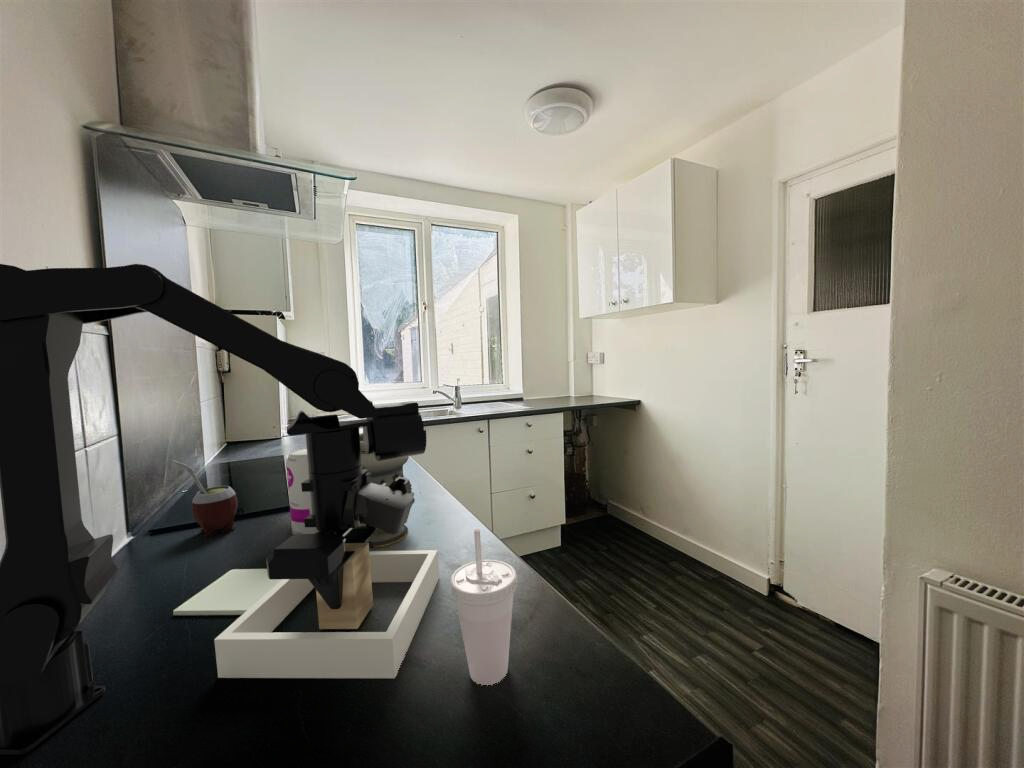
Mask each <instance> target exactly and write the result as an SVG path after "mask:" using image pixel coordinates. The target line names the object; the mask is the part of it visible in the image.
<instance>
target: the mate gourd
mask: <svg viewBox="0 0 1024 768" xmlns="http://www.w3.org/2000/svg"><path fill="white" fill-rule="evenodd" d="M170 462H172V463H174V464H176V465H178V466H180V467H182V468H184V469H185V470H186V471H187V473H188V474H189V475H190V476H191V477H192V479H193V481H194V482H195V484H196V486H197V487H198V489H199V491H197V492H196V494H195V495H194V497H193V498H192V501H191V502H192V503H191V511H192V516H193V518H194V520H195V522H196V523H197V524H198V525H199V526H200V527H201V529H200V533H201V532H205V534H204V535H203V539H204V538H206V539H209V538H211V537H212V535H213V534H214V535H215V533H216V534H218V533H223V532H222V531H232V532H234V531H235V529H236V528H235V527H234V521H235V515H236V513H237V511H238V507H239V501H238V500H239V499H238V496H237V492H235V490H234V489H233V488H232V487H231V486H229V485H219V486H218V485H217V486H212V487H207V488H204V487H203V485H202V484H201V482H200V480H199V479H198V476H197V475H196V474H195V470H194V469H193V468H192V467H191V466H189V465H187V464H185V463H183V462H179V461H177V460H173V459H171V460H170ZM233 530H234V531H233ZM217 532H218V533H217ZM214 535H213V536H214ZM210 536H211V537H210Z"/></svg>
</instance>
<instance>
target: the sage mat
mask: <svg viewBox="0 0 1024 768" xmlns="http://www.w3.org/2000/svg"><path fill="white" fill-rule="evenodd" d="M281 580H282V579H269V578H268V574H267V568H242V569H241V568H235V569H233V568H232V569H230V570H229V571H227V572H226V573H225V574H223V575H222V576H220V577H219V578H217V579H216V580H215V581H213V582H211V583H210V584H209V585H208V586H206V587H204V588H203V589H201V590H200V591H199V592H198V593H196V594H195V595H193V596H192V597H190V598H189V599H187V600H186V601H185V602H183V603H182V604H181V605H179V606H177V607H176V608H175V609H173V616H238V615H239V616H241V615H243V614H244V613H245V612H246V611H247V610H248V609H249V608H250V607H252V606H253V605H254V604H255V603H256V602H257V601H258V600H259V599H261V598H262V597H263V596H264V595H265V594H266V593H267V592H269V591H270V590H271V589H272V588H273V587H274V586H275V585H276V584H278V583H279V582H280V581H281Z"/></svg>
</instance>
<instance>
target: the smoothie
mask: <svg viewBox="0 0 1024 768" xmlns="http://www.w3.org/2000/svg"><path fill="white" fill-rule="evenodd" d="M473 532H474V534H473V535H474V551H475V554H474V555H475V561H471V562H468V563H466V564H464V565H462V566H460V567H459V568H457V569H456V570H455V571H454V572H453V573H452V575H451V576H450V592H451V595H452V596H453V597H454V598H455V604H456V608H457V613H458V618H459V624H460V628H461V629H460V630H461V635H462V639H463V645H464V649H465V655H466V660H467V666H468V670H469V671H468V672H469V677H470V678H471V680H472V681H473V682H474V683H475V682H476V683H475V684H477V685H479V684H481V685H480V686H483V685H487V686H486V687H488V685H491V686H494V685H493V684H495V683H497V684H499V683H501V682H502V681H503V680H504V679H505V678H506V677H505V676H507V675H506V674H508V671H509V658H510V656H509V655H510V646H511V645H510V642H511V630H512V618H513V617H512V615H513V605H514V604H513V603H514V592H515V591H516V589H517V587H518V579H517V572H516V570H515V568H514V567H513V566H511V565H510V564H509V563H507V562H505V561H501V560H498V559H482V546H481V545H482V543H481V530H480V529H479V528H476V529H474V530H473ZM504 677H505V678H504ZM503 678H504V679H503ZM502 679H503V680H502ZM501 680H502V681H501ZM500 681H501V682H500ZM498 682H499V683H498ZM495 685H496V684H495Z"/></svg>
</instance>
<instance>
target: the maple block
mask: <svg viewBox="0 0 1024 768" xmlns="http://www.w3.org/2000/svg"><path fill="white" fill-rule="evenodd" d="M344 547H345V551H355V553H354V554H353V555H352V556H351V557H350V558H349V560H348V561H347V562H346V563H345V564H344V570H343V592H342V603H341V607H340V608H339V609H330V607H329V606H328V605H327V603H326V602H325V601H324V599H323V598H322V597H321V595H320V594H319V593H318V591H317V590H316V589H315V592H316V593H315V594H316V605H317V616H318V617H317V618H318V619H317V620H318V630H358V629H359V627H360V626H361V624H362V622H363V621H364V620H365V619H366V617H367V615H368V614H369V612H370V610H371V609H372V608H373V606H374V600H373V599H374V598H373V585H372V583H373V582H371V568H370V555H369V551H370V547H369V543H344Z"/></svg>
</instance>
